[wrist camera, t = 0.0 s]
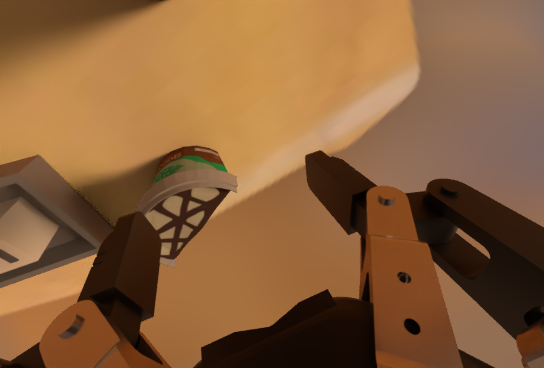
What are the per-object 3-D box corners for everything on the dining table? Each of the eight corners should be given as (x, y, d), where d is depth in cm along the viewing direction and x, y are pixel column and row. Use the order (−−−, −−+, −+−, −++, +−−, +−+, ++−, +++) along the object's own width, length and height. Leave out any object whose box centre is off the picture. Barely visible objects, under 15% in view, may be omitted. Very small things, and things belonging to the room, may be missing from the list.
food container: (177, 114, 23) (175, 156, 15) (224, 143, 27) (240, 188, 19) (127, 193, 26) (104, 260, 19) (174, 209, 30) (172, 270, 22)
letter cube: (-34, 212, 21) (-82, 253, 17) (21, 196, 22) (-13, 232, 18) (12, 241, 24) (-20, 281, 21) (59, 226, 25) (37, 261, 21)
